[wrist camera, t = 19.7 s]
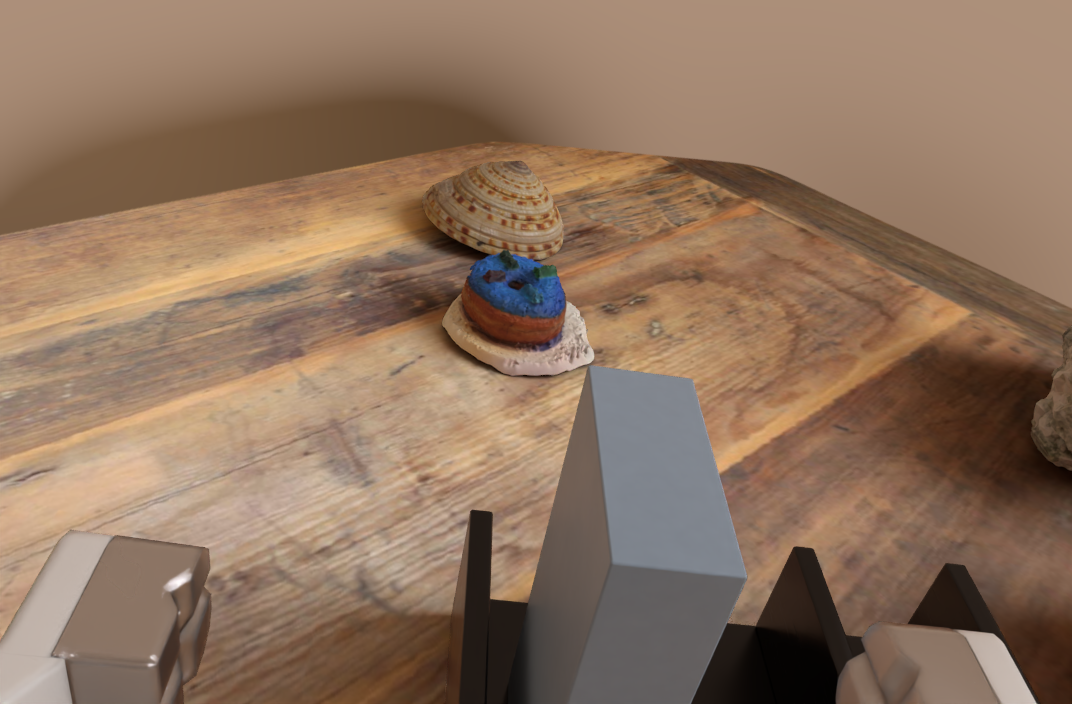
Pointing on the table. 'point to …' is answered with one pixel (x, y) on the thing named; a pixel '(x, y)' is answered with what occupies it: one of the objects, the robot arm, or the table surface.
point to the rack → (742, 652)
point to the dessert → (518, 318)
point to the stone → (1056, 413)
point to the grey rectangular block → (630, 553)
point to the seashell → (497, 210)
